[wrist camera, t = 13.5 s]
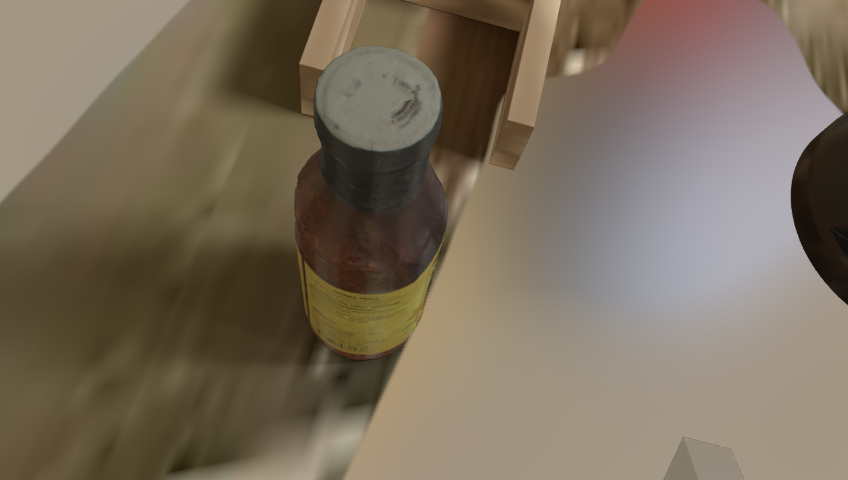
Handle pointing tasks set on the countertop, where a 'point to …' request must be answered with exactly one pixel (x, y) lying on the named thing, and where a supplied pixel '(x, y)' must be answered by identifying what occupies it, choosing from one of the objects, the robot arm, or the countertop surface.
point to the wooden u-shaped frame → (491, 3)
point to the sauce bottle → (370, 202)
